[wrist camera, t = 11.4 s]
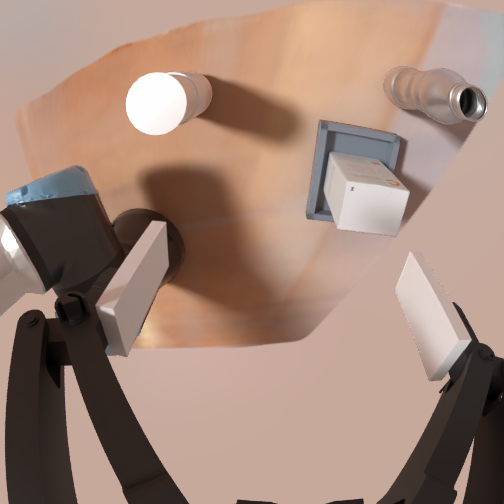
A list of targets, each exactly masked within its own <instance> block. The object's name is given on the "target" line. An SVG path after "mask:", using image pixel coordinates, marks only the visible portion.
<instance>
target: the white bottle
mask: <svg viewBox="0 0 504 504" xmlns="http://www.w3.org/2000/svg"><path fill="white" fill-rule="evenodd" d="M211 100H212V87H211V84H210V82H209V81H208V80H207V78H206V77H204V76H203V75H202V74H199V73H197V72H191V71H188V72H187V71H172V72H166V73H151V74H147V75H145V76H143V77H141V78H139V79H138V80H137V81H136V82H135V83H134V84H133V86H132V87H131V89H130V90H129V93H128V96H127V99H126V110H127V115H128V117H129V119H130V121H131V122H132V124H133V125H134V126H135V127H136V128H137V129H138V130H140V131H141V132H144V133H146V134H149V135H161V134H165V133H167V132H170V131H172V130H173V129H174V128H176V127H177V126H178V125H181V124H184V123H186V122H188V121H190V120H191V119H193V118H195V117H196V116H197V115H199V114H201V113H202V112H204V111H205V110H206V109H207V107H208V106H209V105H210V102H211Z"/></svg>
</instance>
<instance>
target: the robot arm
mask: <svg viewBox="0 0 504 504" xmlns="http://www.w3.org/2000/svg"><path fill="white" fill-rule="evenodd" d="M98 194H99V191H98V190H96V189H95V187H94V184H93V182H92V180H91V178H90V176H89V174H88V172H87V170H86V169H85V168H83V167H82V166H78V165H75V166H71V167H68V168H65V169H63V170H60V171H57V172H55V173H52V174H50V175H48V176H45V177H43V178H40V179H38V180H36V181H33V182H31V183H29V184H27V185H24V186H23V187H20V188H18V189H16V190H14V191H12V192H9V193H7V194H6V196H5V204H6V205H8V207H7V208H5V209H4V210H3V211H1V212H0V316H1V315H2V314H3V313H4V312H6V311H7V309H9V308H10V307H11V306H12V305H13V304H14V303H16V302H17V301H18V300H19V299H20V298H21V297H22V296H24V295H25V294H26V293H36V294H42V295H43V294H45V293H46V292H47V291H48V290H50V289H51V288H53V290H54V291H55V293H56V295H57V296H58V298H57V300H56V302H55V310H56V312H55V316H56V318H51V319H46V318H45V315H44V314H43V312H42V311H40V310H30V311H27V312H26V313H24V314H23V315H22V316H21V317H20V318H19V320H18V323H17V328H16V333H15V339H14V345H13V351H12V357H11V364H10V372H9V381H8V390H7V403H6V420H5V462H6V480H7V491H8V501H9V504H78V503H77V498H76V493H75V488H74V482H73V477H72V470H71V463H70V456H69V447H68V438H67V426H66V411H65V389H64V388H65V387H64V366H66V365H72V366H73V370H74V373H75V376H76V379H77V382H78V385H79V388H80V391H81V394H82V397H83V400H84V402H85V405H86V408H87V410H88V413H89V416H90V418H91V420H92V423H93V425H94V428H95V430H96V433H97V435H98V437H99V440H100V442H101V444H102V447H103V449H104V451H105V453H106V455H107V457H108V460H109V462H110V464H111V465H112V468H113V470H114V472H115V474H116V476H117V477H118V480H119V481H120V483H121V486H122V489H123V493H124V496H125V498H126V500H127V502H128V504H189V503H188V501H187V500H186V498H185V497H184V496H183V494H182V493H181V491H180V490H179V489H178V487H177V485H176V484H175V483H174V481H173V479H172V478H171V476H170V475H169V474H168V472H167V471H166V469H165V468H164V466H163V465H162V463H161V461H160V460H159V458H158V456H157V455H156V453H155V451H154V450H153V448H152V446H151V444H150V443H149V441H148V439H147V437H146V435H145V434H144V432H143V430H142V428H141V426H140V424H139V423H138V421H137V419H136V417H135V415H134V413H133V411H132V409H131V407H130V405H129V403H128V401H127V399H126V397H125V395H124V393H123V391H122V389H121V386H120V384H119V383H118V380H117V378H116V376H115V373H114V371H113V369H112V367H111V364H110V362H109V360H108V357H107V355H109V356H115V355H120V356H124V357H127V356H128V354H129V352H130V350H131V347H132V345H133V343H134V342H135V340H136V338H137V336H139V334H140V333H141V329H142V327H143V324H144V322H145V320H146V317H147V315H148V313H149V310H150V308H151V306H152V304H153V301H154V299H155V297H156V295H157V292H158V290H159V289H160V288H161V287H162V286H164V285H165V284H166V283H167V282H169V281H170V280H171V279H173V278H174V277H175V276H176V274H177V273H178V271H179V269H180V267H181V265H182V262H183V259H184V244H183V241H182V238H181V236H180V234H179V232H178V231H177V229H176V228H175V227H174V225H173V224H172V223H171V222H170V221H169V220H167V219H166V218H165V217H163V216H162V215H160V214H158V213H156V212H154V211H151V210H147V209H131V210H127V211H125V212H123V213H121V214H120V215H119V216H118V217H117V218H116V219H115V220H114V221H113V222H112V223H111V222H110V220H109V218H108V215H107V213H106V211H105V209H104V206H103V204H102V202H101V199H100V197H99V195H98ZM395 292H396V294H397V297H398V299H399V302H400V304H401V306H402V309H403V311H404V314H405V316H406V318H407V321H408V324H409V326H410V329H411V332H412V334H413V337H414V340H415V342H416V345H417V348H418V351H419V353H420V356H421V359H422V362H423V365H424V368H425V371H426V374H427V377H428V379H429V381H437V380H442V379H443V378H444V377H445V375H446V374H447V373H448V372H449V375H450V379H449V381H448V382H447V383H446V384H445V385H444V387H443V388H442V389H441V390H440V391H439V393H441V392H442V391H443V393H442V395H441V398H440V400H439V402H438V404H437V406H436V408H435V410H434V413H433V414H432V417H431V419H430V421H429V423H428V425H427V427H426V428H425V430H424V432H423V434H422V436H421V438H420V440H419V442H418V444H417V445H416V447H415V449H414V451H413V452H412V454H411V456H410V458H409V459H408V461H407V463H406V465H405V466H404V468H403V469H402V471H401V472H400V474H399V476H398V477H397V479H396V481H395V482H394V483H393V485H392V486H391V488H390V489H389V491H388V492H387V493H386V495H385V496H384V497H383V498H382V499H381V500H380V501H378V502H377V504H453V503H454V501H455V499H456V496H457V491H456V490H454V485H455V483H456V481H457V478H458V476H459V474H460V472H461V469H462V467H463V465H464V462H465V459H466V457H467V454H468V452H469V450H470V447H471V444H472V442H473V439H474V446H473V453H472V460H471V466H470V472H469V478H468V483H467V487H466V492H465V496H464V500H463V504H504V359H503V358H499V357H496V356H495V355H494V352H493V351H492V349H491V348H490V347H488V346H487V345H485V344H483V343H479V341H478V339H477V337H476V335H475V333H474V331H473V330H472V328H471V326H470V324H469V322H468V320H467V319H466V318H465V317H466V316H465V315H464V313H463V311H462V309H461V308H460V307H459V306H458V305H457V304H456V303H455V302H451V300H450V298H449V296H448V295H447V293H446V291H445V289H444V288H443V286H442V284H441V283H440V281H439V279H438V278H437V276H436V274H435V273H434V271H433V269H432V268H431V266H430V265H429V263H428V262H427V260H426V258H425V257H424V255H423V254H422V253H421V252H416V251H410V253H409V256H408V258H407V261H406V263H405V266H404V269H403V271H402V274H401V276H400V278H399V281H398V283H397V286H396V288H395ZM501 396H502V398H501ZM474 436H475V437H474ZM236 504H276V503H272V502H263V501H248V500H237V503H236ZM327 504H364V501H363V499H355V500H343V501H334V502H330V503H327Z"/></svg>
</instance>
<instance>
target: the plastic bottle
mask: <svg viewBox="0 0 504 504" xmlns="http://www.w3.org/2000/svg"><path fill="white" fill-rule="evenodd" d="M384 91H385V93H386V96H387V97H388V99H389V100H390V101H391V102H392V103H393V104H395V105H396V106H398V107H400V108H402V109H410V110H414V109H417V110H420V111H422V112H424V113H425V114H426V115H428V116H429V117H430V118H432V119H433V120H435V121H437V122H439V123H441V124H445V125H452V124H458V123H460V122H462V121H464V120H468V121H471V122H477V121H480V120H481V119H483V118H484V116H485V115H486V113H487V109H488V103H487V98H486V96H485V94H484V93H483V91H482V90H481V89H480V88H478V87H476V86H474V85H470V84H468V83H467V82H466V80H465V79H464V78H463V77H462V76H460V75H459V74H458V73H456V72H454V71H452V70H450V69H445V68H441V69H433V70H429V71H419V70H417V69H415V68H412V67H408V66H399V67H397V68H394V69H393V70H391V71H390V72H389V73H388V74H387V75H386V77H385V79H384Z"/></svg>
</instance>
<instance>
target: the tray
mask: <svg viewBox="0 0 504 504" xmlns="http://www.w3.org/2000/svg"><path fill="white" fill-rule="evenodd" d="M400 141H401V137H400V136H398V135H397V134H394V133H390V132H385V131H380V130H376V129H371V128H366V127H361V126H355V125H350V124H344V123H338V122H332V121H325V120H319V124H318V132H317V140H316V147H315V154H314V161H313V168H312V175H311V182H310V188H309V195H308V201H307V207H306V217H307V219H311V220H320V221H328V222H335V221H334V218H333V216H332V213H331V210H330V207H329V205H328V202H327V199H326V196H325V194H324V191H323V187H324V181H325V175H326V169H327V163H328V156H329V152H330V151H331V152H338V153H345V154H351V155H358V156H363V157H369V158H374V159H379V160H380V161H381V162H382V163H383V164H384V165H385V166H386V167H387V168H388V169H389V170H390V171H391V172H392V173H393V174H394V170H395V165H396V161H397V156H398V151H399V146H400Z"/></svg>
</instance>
